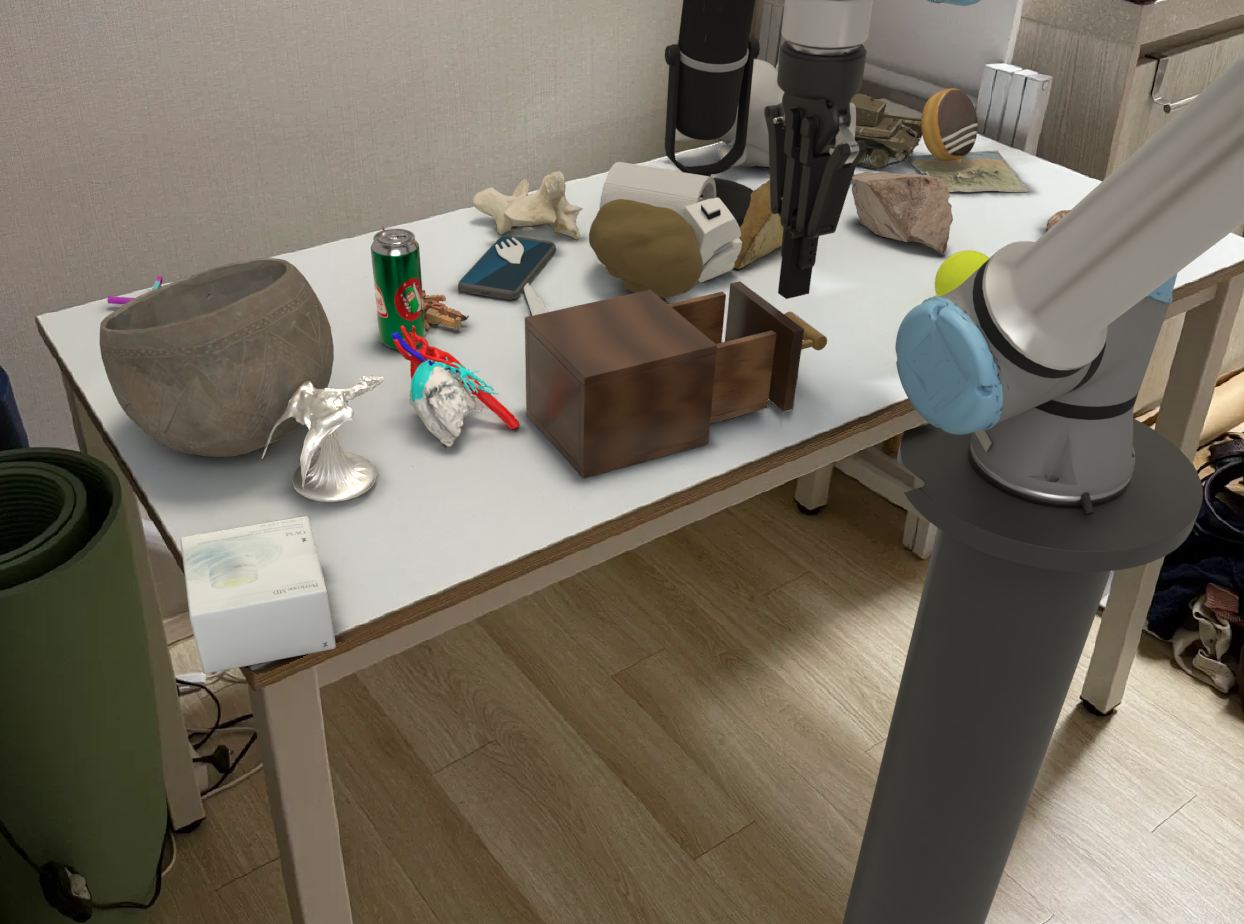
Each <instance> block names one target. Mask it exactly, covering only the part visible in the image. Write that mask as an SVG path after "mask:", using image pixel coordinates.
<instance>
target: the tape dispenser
mask: <svg viewBox="0 0 1244 924" xmlns="http://www.w3.org/2000/svg"><path fill="white" fill-rule="evenodd" d="M682 217H683V218H684V219H685V220H686V221H687V223H689V224H690V225H691V226H692V227H693V229H694V231H695V234H696V238H697V242H698V247H699V250H700V253H701V255H702V260H703V269H702V273H701V276H700V278H699V280H698V282H700V283H704V282H706V281H708V280H712V279H715V278H716V277H720V276H721V275H724V274H726V273H729V272H731V271H733V269H734V268H733V267H734V265H735V261H736V259H737V256H738V255H739V253H740V251H741V247H742V241H741V240H740V239H739V237H740V236H741V231H740V227H739V225H738V223H737V221H736V220H735V218H734V217H733V215H732V214H731V212H730V211H729V210H728V208H727V207H726V206H725V205H724V203H723V202H722V201H721V200H720V198H713V199H707V200H704V201H701V202H698V203H695V204H692V205H688V206H685V208H684V211H683V213H682Z"/></svg>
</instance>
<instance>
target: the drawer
mask: <svg viewBox="0 0 1244 924" xmlns="http://www.w3.org/2000/svg"><path fill="white" fill-rule="evenodd" d="M726 299H727V294H726V293H725V292H723V291H719V292H713V293H710V294H709V293H708V294H705V295H700V296H696V297H692V298H687V299H683V300H679V301H675V302H670V303H667V304H668V305H669V306H671V307H672V308H673V309H674V310H675V311H677V312H678V313H679V314H680V315H681V316H683V317H684V318H685V319H686V320H687V321H689V322H690V323H691V324H692V325H693V326H695V327H696V328H697V329H698V330H699V331H701V332H702V333H703V334H704V335H705V336H707V337H708V338H709V339H710V340H711V341H713V342H714V343H715V344H716V345H717V353H716V365H715V376H714V387H713V398H712V409H711V420H710V424H714V423H717V422H721V421H724V420H729V419H733V418H737V417H740V416H744V415H748V414H752V413H755V412H759V411H762V410H766V409H768V405H769V401H770V403H772V404H773V405H774V406H775V407H777V408H778V409H779V410H780V411H781V412H783V413H784V412H785V413H786V412H788V411H789V412H790V411H792V410H794V405H795V398H796V392H797V384H798V378H799V377H798V376H799V369H800V362H801V355H802V350H805V349H810V348H812V349H814V350H815V351H821V350H823V349H824V348H826V346H827V344H828V338H827V337H826V335H824V334H823V333H822V332H820V331H819V330H817V329H816V328H814V326H812V325H810V324H809V323H808V322H806V321H805V320H804V319H802V318H801V317H800V316H798V315H797V314H795V312H793V311H787V312H785V313H783V312H782V311H780V310H779V309H778V308H777V307H775V306H774V305H773V304H771V303H770V302H768V301H767V300H766V299H764V298H763V297H762V296H760V294H758V293H757V292H755V291H754V290H753V289H751V288H750V287H748V286H747V285H746V284H744V283H743V282H742V281H740V280H739V281H734V282H731V283H729V294H728V303H727V311H726V312H727V313H726V325H725V334H724V335H725V336H724V341H723V331H724V322H725V310H726V301H727V300H726Z"/></svg>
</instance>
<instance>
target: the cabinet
mask: <svg viewBox="0 0 1244 924" xmlns="http://www.w3.org/2000/svg"><path fill="white" fill-rule="evenodd" d="M668 304H669V303H667V302H666V301H665V300H664V299H663V298H660V297H659V296H657V295H656V294H655V293H654V292H653V291H651V290H646V291H642V292H637V293H633V292H631V293H629V294H625V295H620V296H615V297H611V298H606V299H601V300H597V301H592V302H587V303H583V304H579V305H574V306H570V307H565V308H560V309H557V310H556V309H555V310H552V311H548V312H547V313H542V314H538V315H533V316H532V315H528V316H525V317H524V353H525V354H524V357H525V359H524V360H525V362H524V363H525V407H526V409H525V411H526V412H525V414H526V416H527V417H528V418H529V419H530V421H532V423H533V424H534V425H535V426H536V427H537V429H539V431H540V432H541V433H542V434H543V435H544V436H545V437H546V438H547V440H548V441H549V442H550V443H551V444H552V445H553V446H554V448H555V449H556V450H557V451H558V452H559V453H560V454H561V455H562V457H564V459H565V460H566V461H567V463H569V464H570V465H571V467H572V468H573V469H574V470H575V471H576V472H577V473H578V474H579V476H580V477H581V478H582V479H586V478H589V477H593V476H597V475H600V474H601V475H602V474H604V473H609V472H612V471H615V470H619V469H622V468H626V467H629V466H630V467H631V466H633V465H637V464H641V463H645V462H648V461H651V460H655V459H659V458H663V457H667V456H671V455H673V454H677V453H680V452H681V453H682V452H685V451H688V450H691V449H692V450H693V449H696V448H699V447H703V446H706V445H709V440H710V431H711V423H710V420H711V409H712V398H713V387H714V376H715V365H716V353H717V345H716V344H715V343H714V342H713V341H711V340H710V339H709V338H708V337H707V336H705V335H704V334H703V333H702V332H701V331H699V330H698V329H697V328H696V327H695V326H693V325H692V324H691V323H690V322H689V321H687V320H686V319H685V318H684V317H683V316H681V315H680V314H679V313H678V312H677V311H675V310H674V309H673V308H672V307H671V306H669V305H668Z"/></svg>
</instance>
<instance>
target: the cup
mask: <svg viewBox="0 0 1244 924" xmlns="http://www.w3.org/2000/svg"><path fill="white" fill-rule="evenodd" d="M701 195H703V198H700V196H701ZM713 198H716V185H715V181H714V179H713V178H712V176H711V177H709V176H703V175H697V174H691V173H685V172H682V171H680V170H679V171H678V170H672V169H665V168H659V167H654V166H649V165H643V164H636V163H630V162H623V161H616V162H615V163H614V164H613V165H611V167H610V168H609V170H608V172H607V174H606V177H605V180H604V182H603V186H602V190H601V195H600V201H599V209H600V208H601V207H602V206H603V205H604V204H606V203H608V202H610V201H613V200H617V199H624V200H632V201H637V202H641V203H646V204H650V205H652V206H656V207H664V208H669V209H672V210H674V211H676V212H677V213H679V214H680V215H681V216H682V213H683V211H684V208H685V206H688V205H692V204H695V203H698V202H701V201H704V200H707V199H713Z"/></svg>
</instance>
